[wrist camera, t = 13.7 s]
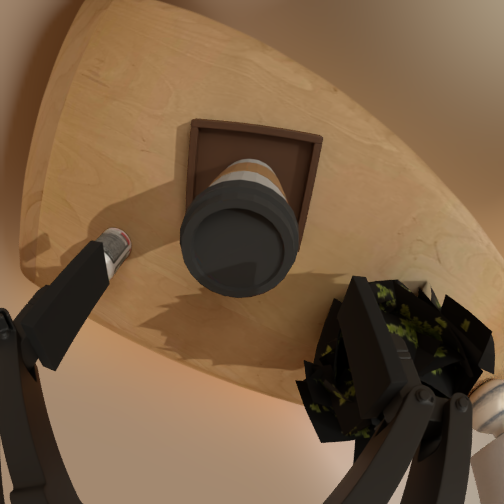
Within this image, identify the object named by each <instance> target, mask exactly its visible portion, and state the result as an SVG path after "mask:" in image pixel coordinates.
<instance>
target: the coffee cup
mask: <svg viewBox="0 0 504 504" xmlns="http://www.w3.org/2000/svg"><path fill="white" fill-rule="evenodd" d="M298 241H299V229H298V223H297V220H296V217H295V214H294V211H293V210H292V209H291V207H290V206H289V204H288V201H287V199H286V196H285V194H284V191H283V189H282V187H281V184H280V182H279V180H278V178H277V177H276V175H275V173H274V172H273V170H272V169H271V168H270V167H269V166H268V165H267V164H265V163H263V162H261V161H259V160H255V159H242V160H239V161H236V162H234V163H233V164H231V165H230V166H229V167H227V169H225V170H224V171H223V172H222V173H221V174H220V175H219V176H218V177H217V178H216V179H215V180H214V181H213V182H212V183H211V184H210V186H209V187H208V188H207V189H205V190H204V191H203V192H201V193H200V194H199V195H197V196H196V197H195V199H194V200H193V201H192V203H191V204H190V205H189V207H188V208H187V211H186V214H185V217H184V220H183V223H182V226H181V228H180V245H181V249H182V250H181V251H182V255H183V259H184V262H185V264H186V266H187V268H188V270H189V271H190V273H191V275H192V276H193V277H194V278H195V279H196V280H197V281H198V282H199V283H200V284H201V285H203V286H204V287H206V288H208V289H209V290H211V291H213V292H215V293H218V294H221V295H223V296H229V297H235V298H242V297H252V296H256V295H260V294H263V293H265V292H267V291H269V290H271V289H272V288H274V287H275V286H277V285H278V284H279V283H280V282H281V281H282V280H283V279H284V278H285V276H286V274H287V273H288V271H289V270H290V268H291V267H292V265H293V263H294V262H295V259H296V255H297V252H298V248H299V242H298Z"/></svg>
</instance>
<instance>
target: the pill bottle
mask: <svg viewBox="0 0 504 504" xmlns="http://www.w3.org/2000/svg"><path fill="white" fill-rule="evenodd" d="M95 241H98V242H103V248H104V254H105V261H106V267H107V273H108V278H109V280H110V279H111V278H112V277H113V276H114V274H115V273H116V271H117V270H118V269H119V267H120V266H121V264H122V263H123V262H124V260H125V259H126V258H127V256H128V255H129V254H130V251H131V241H130V239H129V237H128V236H127V234H126V233H125V232H123V231H122V230H120V229H117V228H109V229H107V230H105V231H104V232H103V233H102V234H101V235H100V236H99V237H98V238H97V239H96V240H95Z"/></svg>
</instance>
